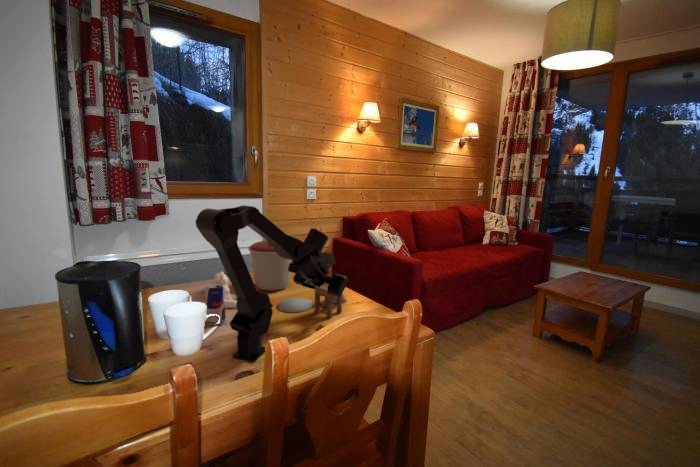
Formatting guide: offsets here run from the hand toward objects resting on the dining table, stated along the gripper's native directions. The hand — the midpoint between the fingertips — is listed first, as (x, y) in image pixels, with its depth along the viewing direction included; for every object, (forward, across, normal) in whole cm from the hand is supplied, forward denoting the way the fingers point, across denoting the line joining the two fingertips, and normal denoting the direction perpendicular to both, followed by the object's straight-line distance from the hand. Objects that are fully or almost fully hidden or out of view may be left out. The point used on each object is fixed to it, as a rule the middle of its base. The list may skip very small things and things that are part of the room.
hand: (331, 292), depth 112 cm
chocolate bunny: (+11, +4, -1) cm, 11 cm away
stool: (+4, 0, +6) cm, 7 cm away
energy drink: (-15, +23, +25) cm, 37 cm away
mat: (+2, +13, +7) cm, 15 cm away
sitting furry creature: (-8, +32, +18) cm, 38 cm away
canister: (+8, +34, +2) cm, 35 cm away
